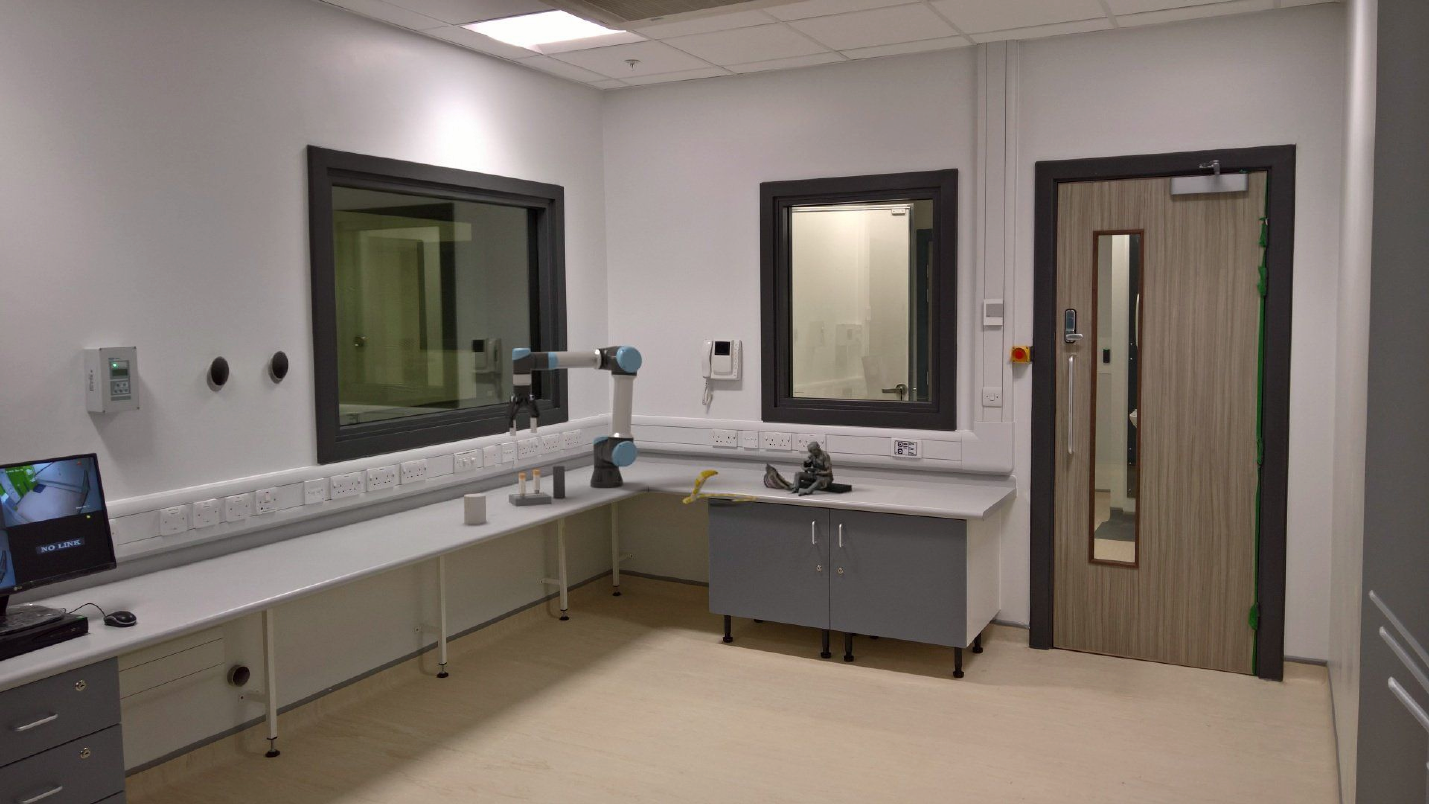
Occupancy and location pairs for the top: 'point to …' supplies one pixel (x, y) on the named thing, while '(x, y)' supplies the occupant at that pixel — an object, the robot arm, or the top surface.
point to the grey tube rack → (530, 499)
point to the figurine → (817, 474)
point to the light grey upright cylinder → (474, 508)
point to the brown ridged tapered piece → (775, 479)
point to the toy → (698, 486)
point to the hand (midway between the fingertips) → (523, 434)
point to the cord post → (558, 482)
